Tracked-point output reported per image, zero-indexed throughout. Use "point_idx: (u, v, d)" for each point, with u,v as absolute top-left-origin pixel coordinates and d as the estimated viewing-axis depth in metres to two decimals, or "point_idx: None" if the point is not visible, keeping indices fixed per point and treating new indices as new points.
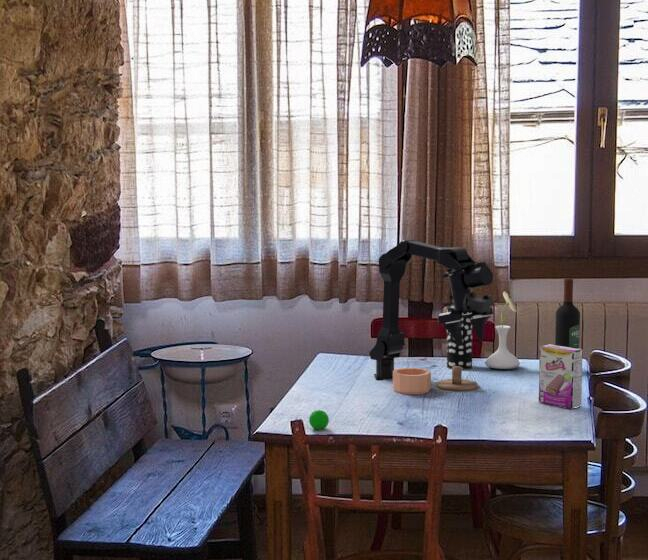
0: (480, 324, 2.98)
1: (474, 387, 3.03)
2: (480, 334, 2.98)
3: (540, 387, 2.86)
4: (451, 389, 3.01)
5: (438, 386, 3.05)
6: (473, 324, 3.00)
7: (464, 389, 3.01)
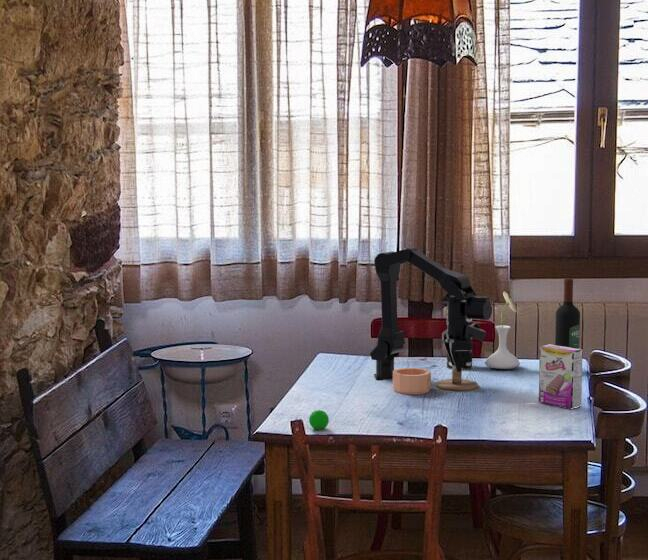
0: None
1: (474, 387, 3.03)
2: None
3: (540, 387, 2.86)
4: (451, 389, 3.01)
5: (438, 386, 3.05)
6: (448, 348, 3.10)
7: (464, 389, 3.01)
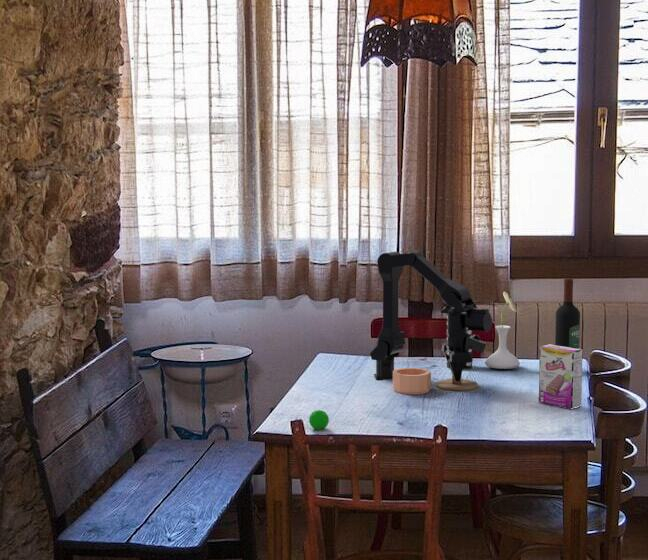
0: None
1: (474, 387, 3.03)
2: None
3: (540, 387, 2.86)
4: (451, 389, 3.01)
5: (438, 386, 3.05)
6: (449, 361, 3.08)
7: (464, 389, 3.01)
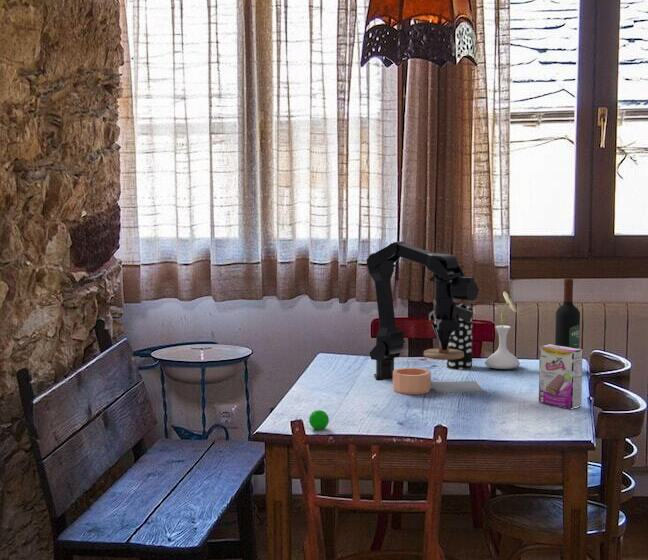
0: None
1: (461, 356, 3.01)
2: None
3: (540, 387, 2.86)
4: (438, 357, 2.99)
5: (425, 355, 3.03)
6: None
7: (451, 357, 2.99)
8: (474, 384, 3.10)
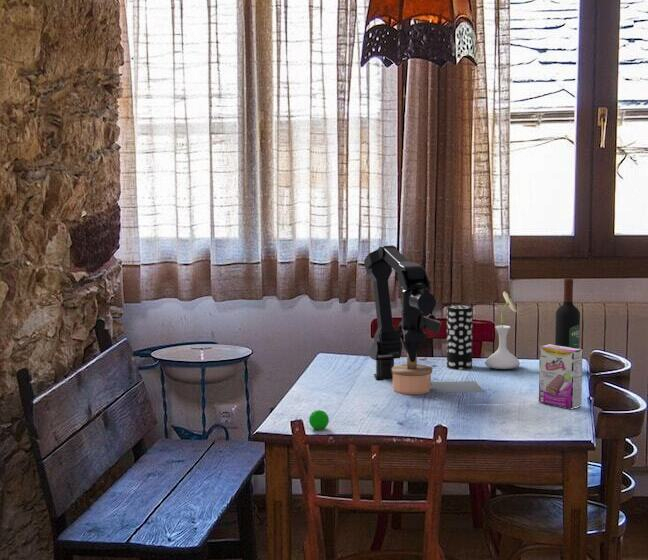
0: None
1: (429, 372, 2.99)
2: None
3: (540, 387, 2.86)
4: (405, 374, 2.97)
5: (393, 371, 3.01)
6: (404, 340, 3.04)
7: (419, 374, 2.97)
8: (474, 384, 3.10)
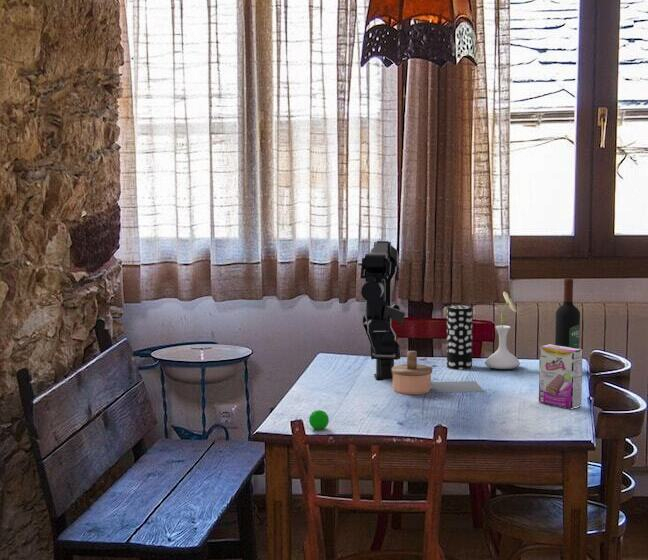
0: None
1: (429, 372, 2.99)
2: None
3: (540, 387, 2.86)
4: (405, 374, 2.97)
5: (393, 371, 3.01)
6: (367, 330, 2.99)
7: (419, 374, 2.97)
8: (474, 384, 3.10)
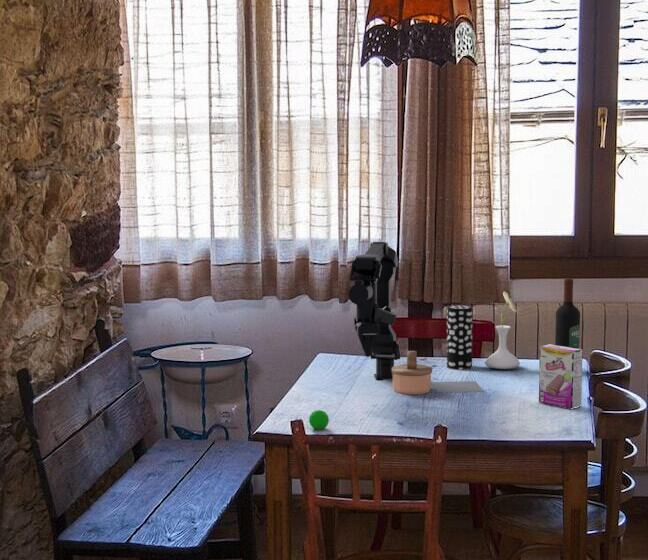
0: None
1: (429, 372, 2.99)
2: None
3: (540, 387, 2.86)
4: (405, 374, 2.97)
5: (393, 371, 3.01)
6: None
7: (418, 374, 2.97)
8: (474, 384, 3.10)
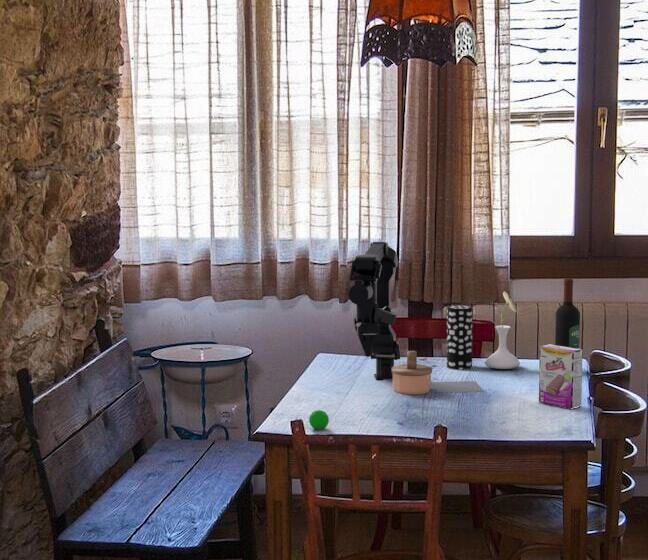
0: None
1: (429, 372, 2.99)
2: None
3: (540, 387, 2.86)
4: (405, 374, 2.97)
5: (393, 371, 3.01)
6: None
7: (418, 374, 2.97)
8: (474, 384, 3.10)
